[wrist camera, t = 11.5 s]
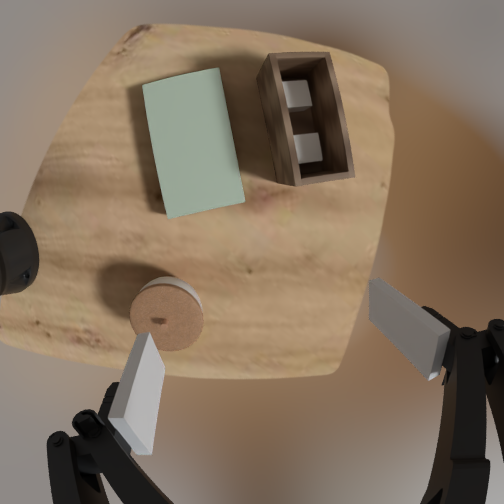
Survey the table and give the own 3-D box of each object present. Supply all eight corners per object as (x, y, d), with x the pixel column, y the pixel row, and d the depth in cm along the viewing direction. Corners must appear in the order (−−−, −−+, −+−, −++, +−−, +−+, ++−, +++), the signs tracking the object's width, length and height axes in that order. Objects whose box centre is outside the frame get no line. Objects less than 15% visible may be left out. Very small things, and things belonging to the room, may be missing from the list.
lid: (242, 199, 42) (245, 201, 39) (171, 215, 41) (167, 219, 38) (218, 75, 36) (218, 67, 33) (147, 91, 35) (142, 85, 32)
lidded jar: (128, 295, 44) (111, 322, 35) (171, 253, 43) (161, 274, 34) (174, 336, 47) (167, 369, 38) (218, 299, 46) (219, 329, 37)
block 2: (288, 164, 40) (295, 164, 37) (283, 138, 39) (290, 135, 36) (313, 161, 41) (322, 160, 37) (308, 135, 40) (317, 132, 36)
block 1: (278, 113, 38) (285, 108, 34) (273, 89, 37) (279, 81, 33) (303, 111, 38) (312, 105, 35) (298, 87, 37) (306, 80, 33)
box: (325, 175, 42) (355, 177, 33) (277, 183, 42) (295, 186, 32) (305, 74, 37) (329, 52, 28) (256, 78, 37) (268, 53, 27)
